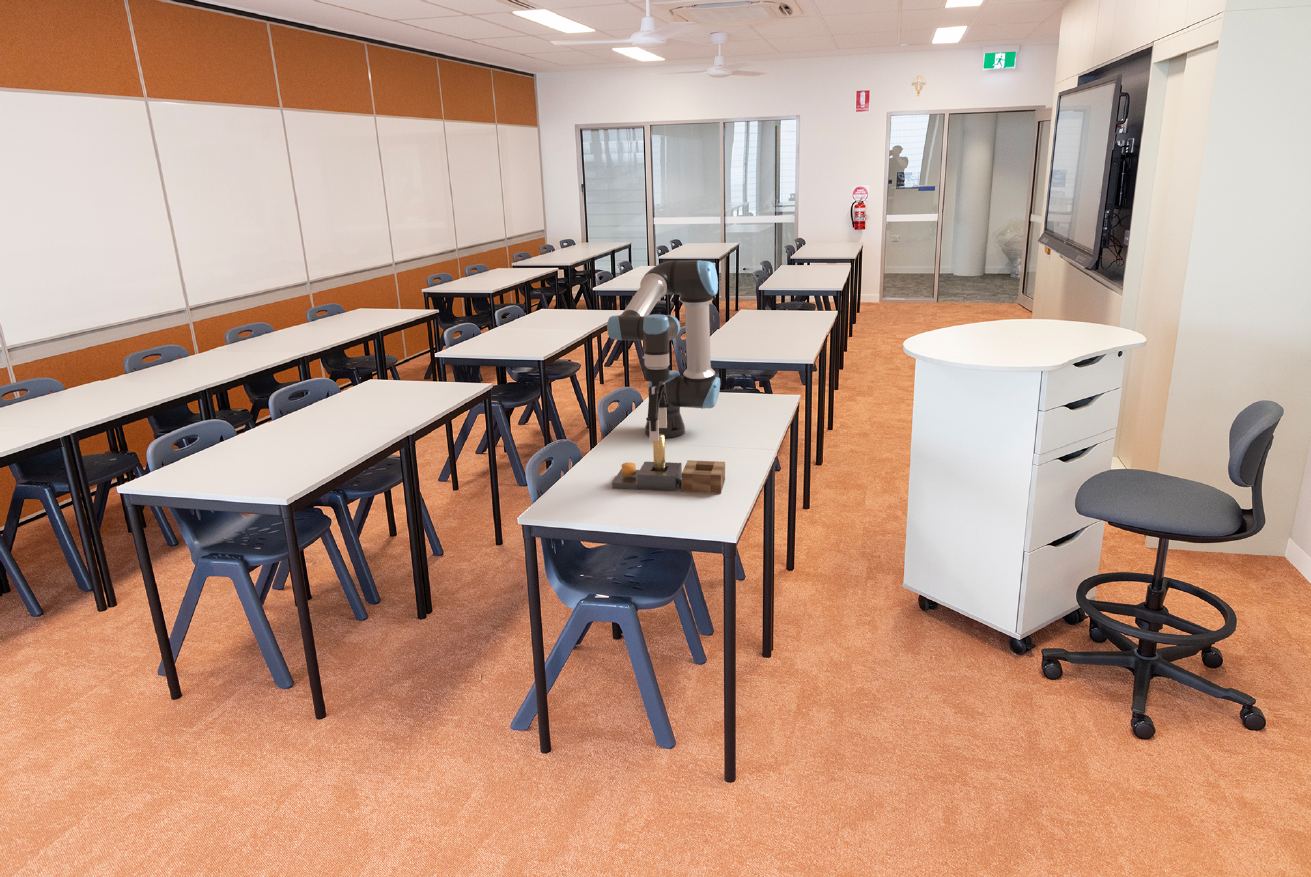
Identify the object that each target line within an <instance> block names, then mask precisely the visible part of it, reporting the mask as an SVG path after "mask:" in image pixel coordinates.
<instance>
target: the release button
mask: <svg viewBox="0 0 1311 877" xmlns="http://www.w3.org/2000/svg"><path fill="white" fill-rule="evenodd" d="M636 466H637V465H636V463H635V462H630V461H629V462H624V463H622V464H621V469H622V475H624V476H633V475H635V474H636V470H637V469H636Z"/></svg>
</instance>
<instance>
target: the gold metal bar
mask: <svg viewBox="0 0 1311 877" xmlns="http://www.w3.org/2000/svg"><path fill="white" fill-rule="evenodd" d="M665 441H666V438H665V435H664V434H659V441H652V443H653V444H652V448H653V449H652V450H653V462H654V471H661V472H665V462H666V446H665V445H666V442H665Z"/></svg>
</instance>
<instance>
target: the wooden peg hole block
mask: <svg viewBox="0 0 1311 877" xmlns="http://www.w3.org/2000/svg"><path fill="white" fill-rule="evenodd" d="M725 481H726V461H715V460H714V461H713V460H691V459H690V460H687V461H686V463H685V465H684V468H683V469H682V478H681V492H682V493H697V494H698V493H699V494H700V493H703V494H717V495H718V494H722V492H723V487H724V484H725Z"/></svg>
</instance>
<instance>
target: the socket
mask: <svg viewBox="0 0 1311 877" xmlns="http://www.w3.org/2000/svg"><path fill="white" fill-rule="evenodd" d="M682 465H683V464H682V462H666V461H665V472H661V471H654V461H644V462H643V463H642V465H641V467H640V469H636V474H635V475H633V476H624V475H622V468H621V469H620V470H619V471H618V472H617V475H616V476H615V478H614V480H613V481H612V482H611V483H612V489H614V490H616V489H617V490H633V491H634V490H635V491H636V490H637V491H638V490H639V491H640V490H642V491H655V492H659V491H660V492H676V491H677V489H678V487H679V485H680V482H681V481H682V472H683V469H682V468H683V467H682Z"/></svg>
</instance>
